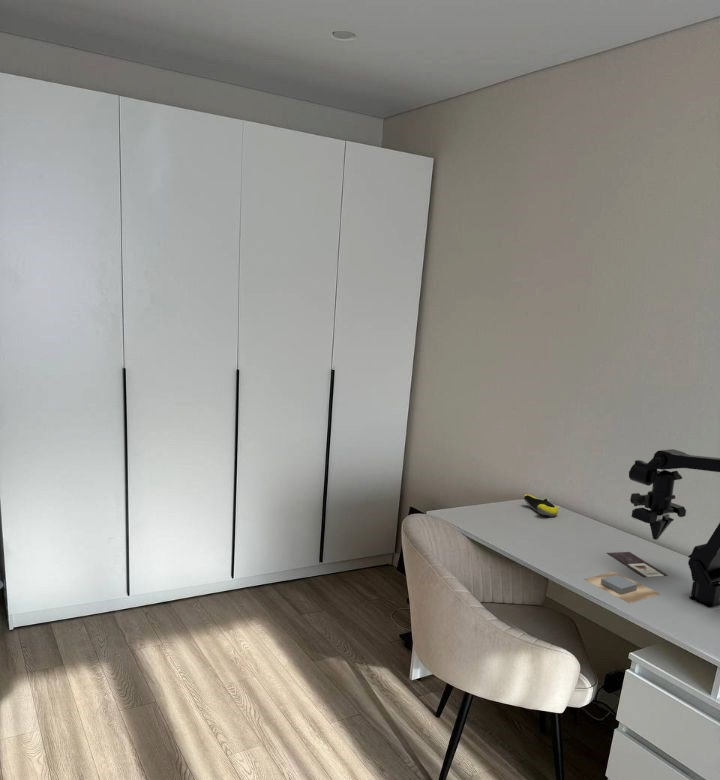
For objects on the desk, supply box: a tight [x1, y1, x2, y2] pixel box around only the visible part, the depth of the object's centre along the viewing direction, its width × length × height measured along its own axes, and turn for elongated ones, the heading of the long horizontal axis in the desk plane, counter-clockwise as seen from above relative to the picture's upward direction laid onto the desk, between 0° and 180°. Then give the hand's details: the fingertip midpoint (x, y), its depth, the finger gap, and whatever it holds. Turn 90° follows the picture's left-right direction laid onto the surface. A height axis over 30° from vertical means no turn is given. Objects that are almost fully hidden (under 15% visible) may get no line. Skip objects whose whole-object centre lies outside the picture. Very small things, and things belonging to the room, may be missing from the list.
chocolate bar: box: [606, 551, 668, 578], centre depth 209 cm, size 9×1×18 cm
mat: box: [583, 571, 661, 604], centre depth 191 cm, size 16×14×1 cm
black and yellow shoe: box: [523, 493, 560, 518], centre depth 254 cm, size 15×6×10 cm
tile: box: [601, 575, 637, 594], centre depth 190 cm, size 7×2×7 cm
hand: (655, 539), depth 199 cm, fingers closed
